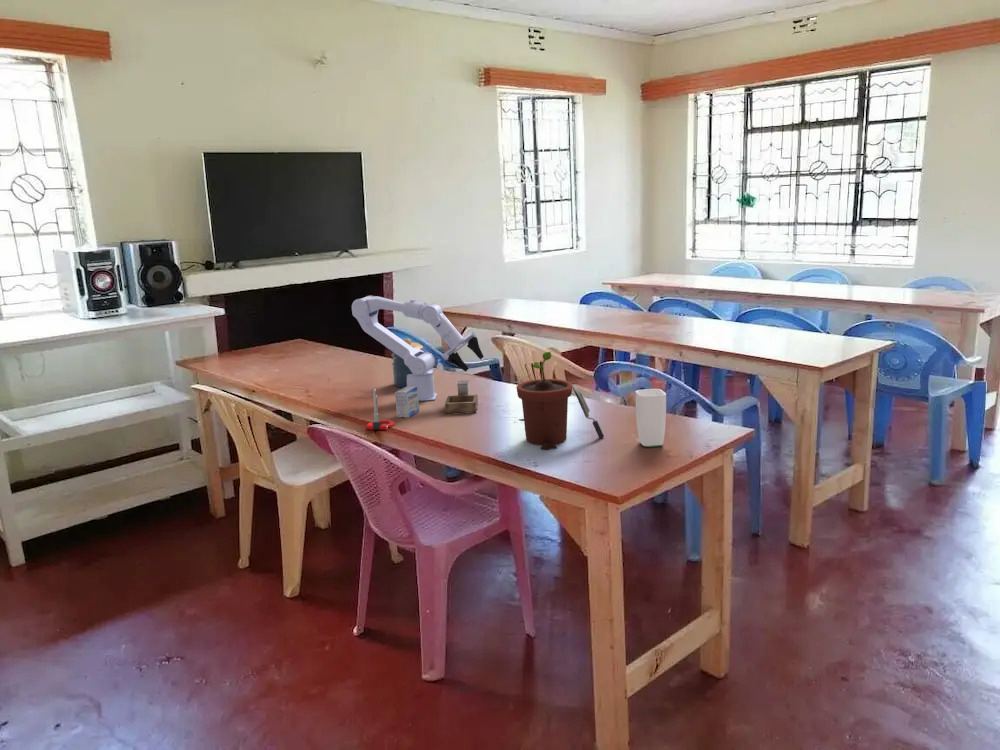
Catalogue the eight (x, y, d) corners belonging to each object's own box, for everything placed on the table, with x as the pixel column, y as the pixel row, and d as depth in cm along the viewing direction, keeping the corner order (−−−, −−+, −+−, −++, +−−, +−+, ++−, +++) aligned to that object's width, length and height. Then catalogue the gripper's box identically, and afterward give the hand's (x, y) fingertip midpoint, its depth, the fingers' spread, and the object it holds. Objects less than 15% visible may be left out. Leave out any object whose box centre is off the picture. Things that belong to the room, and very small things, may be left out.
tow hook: (372, 423, 251) (363, 430, 242) (369, 383, 249) (360, 389, 240) (397, 423, 250) (389, 430, 241) (395, 383, 247) (386, 389, 238)
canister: (399, 390, 290) (395, 343, 286) (389, 383, 302) (385, 338, 298) (432, 385, 295) (429, 339, 291) (421, 378, 307) (418, 334, 303)
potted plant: (543, 426, 237) (540, 345, 231) (605, 437, 223) (603, 352, 218) (507, 442, 223) (502, 357, 218) (570, 455, 210) (567, 364, 204)
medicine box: (409, 418, 253) (406, 392, 251) (396, 417, 254) (394, 391, 252) (419, 411, 260) (417, 386, 258) (407, 410, 262) (405, 385, 260)
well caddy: (445, 414, 255) (445, 403, 255) (448, 405, 265) (447, 395, 264) (476, 412, 255) (475, 402, 254) (478, 404, 265) (477, 394, 264)
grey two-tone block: (458, 404, 267) (457, 384, 265) (459, 400, 272) (458, 380, 270) (468, 403, 267) (467, 383, 265) (469, 399, 272) (468, 380, 270)
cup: (667, 447, 212) (667, 394, 209) (641, 449, 212) (640, 396, 208) (660, 439, 219) (660, 388, 216) (634, 441, 219) (634, 389, 215)
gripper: (437, 340, 261) (464, 372, 261) (467, 318, 268) (493, 348, 268) (431, 348, 267) (457, 378, 267) (460, 326, 274) (485, 355, 274)
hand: (474, 364), depth 268 cm, fingers open, 7 cm apart
